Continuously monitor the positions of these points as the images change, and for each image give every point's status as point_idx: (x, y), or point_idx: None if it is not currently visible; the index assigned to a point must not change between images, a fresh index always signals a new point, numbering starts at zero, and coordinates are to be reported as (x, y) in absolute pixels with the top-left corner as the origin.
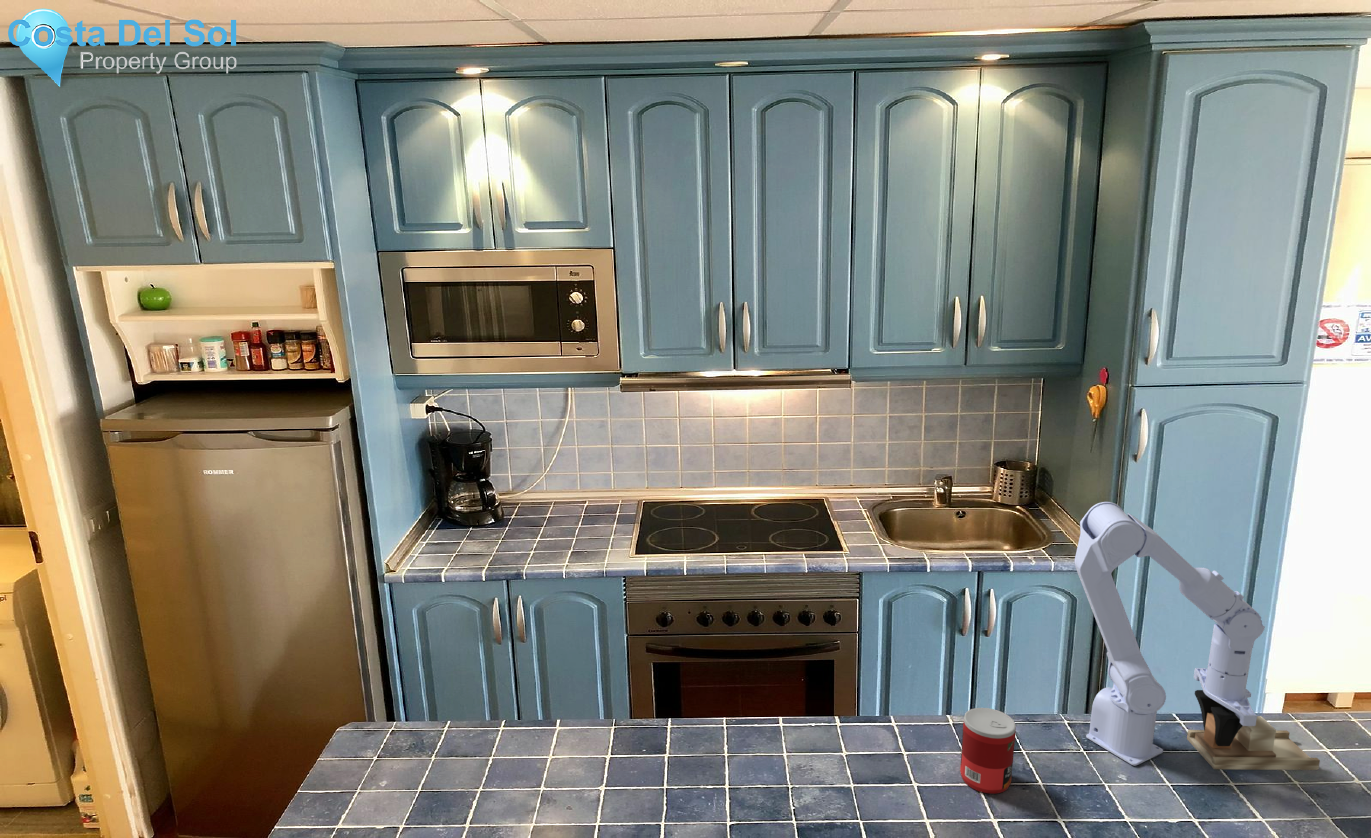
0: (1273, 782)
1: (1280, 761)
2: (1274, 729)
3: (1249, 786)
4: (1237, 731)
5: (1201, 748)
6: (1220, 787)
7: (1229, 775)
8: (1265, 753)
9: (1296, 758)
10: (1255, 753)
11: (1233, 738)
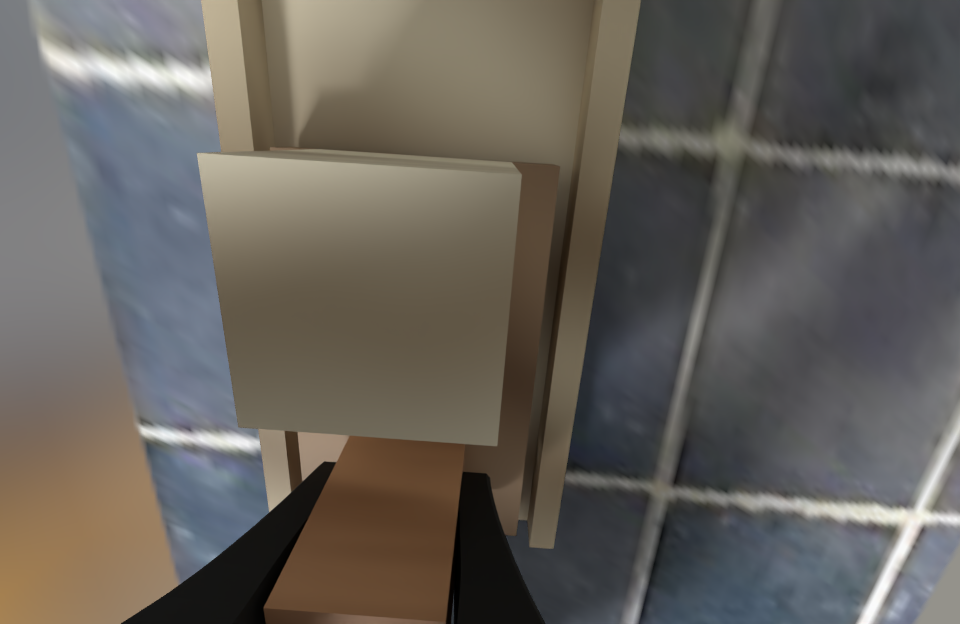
0: (700, 286)
1: (612, 168)
2: (508, 189)
3: (700, 428)
4: (524, 586)
5: None
6: (676, 546)
7: (602, 464)
8: (537, 240)
9: (616, 6)
10: (531, 313)
11: (498, 519)
